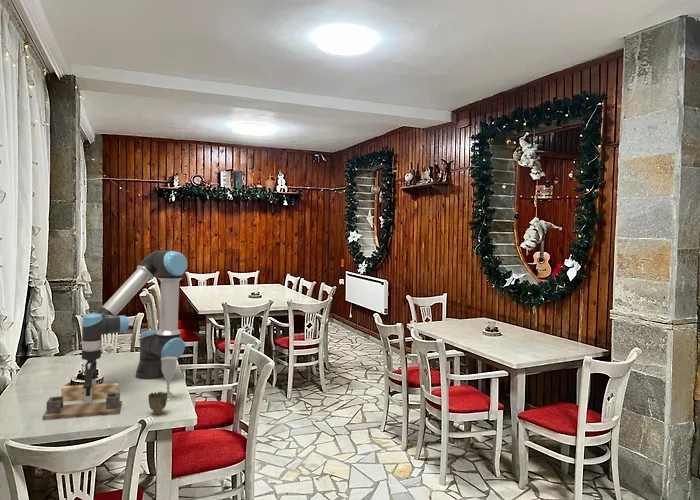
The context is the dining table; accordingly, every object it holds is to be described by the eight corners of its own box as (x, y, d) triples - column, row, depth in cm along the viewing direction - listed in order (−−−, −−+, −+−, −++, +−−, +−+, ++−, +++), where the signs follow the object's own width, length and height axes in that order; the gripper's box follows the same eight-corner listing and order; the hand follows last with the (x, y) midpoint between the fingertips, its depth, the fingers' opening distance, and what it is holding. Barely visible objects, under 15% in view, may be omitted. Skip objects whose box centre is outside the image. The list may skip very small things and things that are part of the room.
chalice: (179, 397, 224) (180, 357, 224) (169, 402, 218) (170, 361, 217) (166, 395, 226) (167, 356, 226) (155, 399, 220) (156, 359, 220)
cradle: (121, 404, 213) (122, 390, 213) (119, 414, 202) (119, 399, 201) (49, 409, 204) (49, 395, 203) (42, 420, 192) (42, 404, 192)
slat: (118, 396, 224) (118, 382, 224) (117, 398, 221) (117, 384, 221) (62, 399, 216) (62, 386, 216) (61, 402, 213) (61, 388, 213)
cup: (151, 410, 207) (151, 391, 207) (169, 410, 208) (169, 391, 208) (145, 416, 200) (145, 396, 200) (164, 416, 200) (164, 397, 200)
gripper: (86, 343, 228) (85, 390, 229) (77, 356, 205) (75, 408, 206) (104, 343, 231) (103, 389, 231) (97, 355, 208) (95, 406, 208)
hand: (90, 398), depth 218 cm, fingers open, 12 cm apart
